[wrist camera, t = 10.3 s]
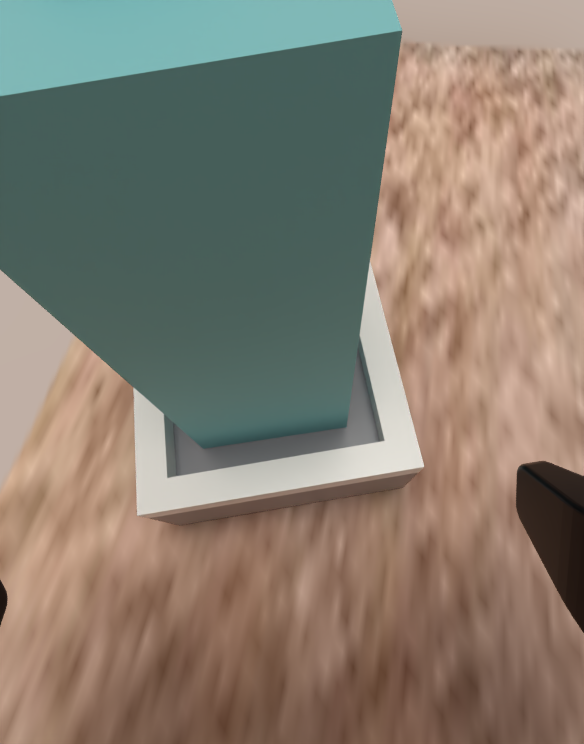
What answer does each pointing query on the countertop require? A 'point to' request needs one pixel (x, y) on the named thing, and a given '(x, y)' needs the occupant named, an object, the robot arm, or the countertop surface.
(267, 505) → the tower base
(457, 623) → the countertop surface
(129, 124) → the tall brick
